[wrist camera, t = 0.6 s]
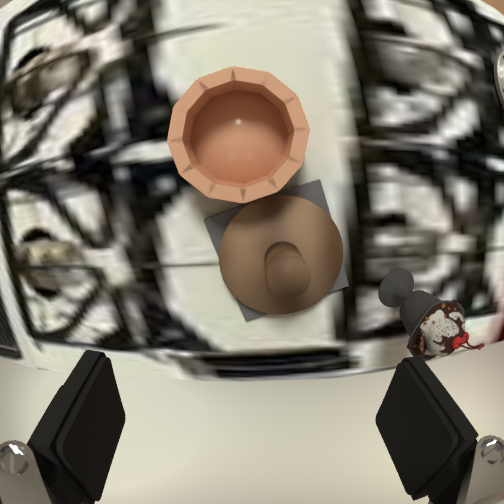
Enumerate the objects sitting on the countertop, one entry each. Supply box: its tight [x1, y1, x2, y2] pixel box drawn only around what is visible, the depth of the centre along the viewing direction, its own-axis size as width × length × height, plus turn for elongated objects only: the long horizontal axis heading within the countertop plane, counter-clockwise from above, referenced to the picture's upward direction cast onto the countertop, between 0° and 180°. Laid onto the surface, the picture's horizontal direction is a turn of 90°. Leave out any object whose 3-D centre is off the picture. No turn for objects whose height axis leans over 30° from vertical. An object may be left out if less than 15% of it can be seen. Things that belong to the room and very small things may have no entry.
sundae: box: [379, 269, 484, 361], centre depth 26 cm, size 7×7×15 cm
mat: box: [204, 179, 349, 320], centre depth 31 cm, size 12×12×1 cm
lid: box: [219, 194, 343, 314], centre depth 28 cm, size 12×12×6 cm
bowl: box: [167, 66, 310, 203], centre depth 25 cm, size 11×11×5 cm
